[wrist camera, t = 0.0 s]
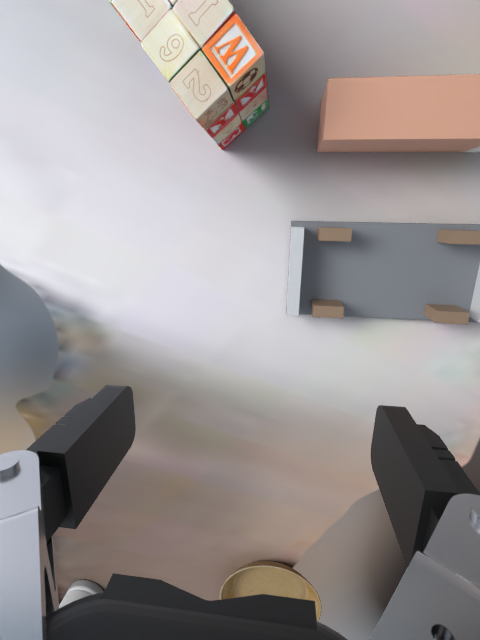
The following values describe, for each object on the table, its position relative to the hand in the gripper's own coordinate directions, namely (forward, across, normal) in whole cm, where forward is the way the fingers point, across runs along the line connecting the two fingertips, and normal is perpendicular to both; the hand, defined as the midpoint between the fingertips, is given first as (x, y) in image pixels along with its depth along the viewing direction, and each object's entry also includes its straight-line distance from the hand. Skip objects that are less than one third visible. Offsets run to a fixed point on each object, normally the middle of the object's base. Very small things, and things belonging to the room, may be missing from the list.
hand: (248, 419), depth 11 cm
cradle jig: (+29, -12, -1) cm, 32 cm away
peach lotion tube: (+29, -12, -15) cm, 35 cm away
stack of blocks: (+30, +10, -23) cm, 39 cm away
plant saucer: (+30, -2, +48) cm, 56 cm away
